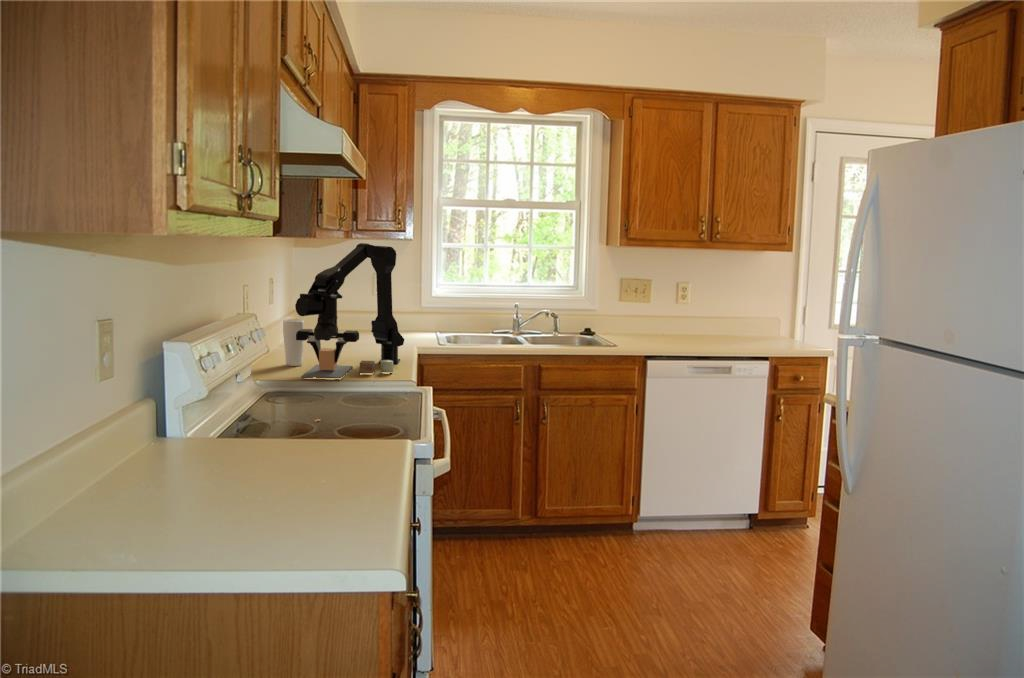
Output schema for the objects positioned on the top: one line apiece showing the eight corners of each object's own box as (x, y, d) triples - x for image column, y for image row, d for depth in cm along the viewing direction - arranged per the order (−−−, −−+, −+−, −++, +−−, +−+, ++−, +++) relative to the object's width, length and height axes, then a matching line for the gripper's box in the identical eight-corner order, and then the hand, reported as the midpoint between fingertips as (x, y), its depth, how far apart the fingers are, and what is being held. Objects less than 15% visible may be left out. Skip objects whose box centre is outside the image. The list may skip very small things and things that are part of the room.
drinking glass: (282, 363, 263) (281, 319, 261) (302, 362, 266) (302, 318, 264) (285, 367, 257) (284, 322, 255) (306, 366, 260) (306, 321, 258)
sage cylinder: (381, 371, 256) (381, 359, 255) (394, 372, 256) (394, 360, 255) (379, 374, 252) (379, 362, 251) (392, 374, 252) (392, 362, 251)
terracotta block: (322, 366, 252) (322, 348, 251) (336, 367, 252) (336, 348, 251) (319, 369, 247) (318, 350, 246) (333, 369, 247) (333, 351, 246)
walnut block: (361, 372, 254) (361, 360, 253) (374, 373, 254) (374, 360, 253) (359, 375, 250) (359, 362, 249) (372, 375, 250) (372, 363, 249)
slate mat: (316, 367, 259) (316, 364, 259) (352, 368, 259) (352, 365, 259) (301, 379, 241) (301, 376, 241) (340, 380, 241) (340, 377, 241)
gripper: (290, 316, 239) (291, 366, 241) (352, 318, 239) (352, 368, 241) (300, 311, 250) (301, 359, 252) (359, 313, 250) (359, 361, 252)
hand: (328, 362), depth 249 cm, fingers open, 5 cm apart
